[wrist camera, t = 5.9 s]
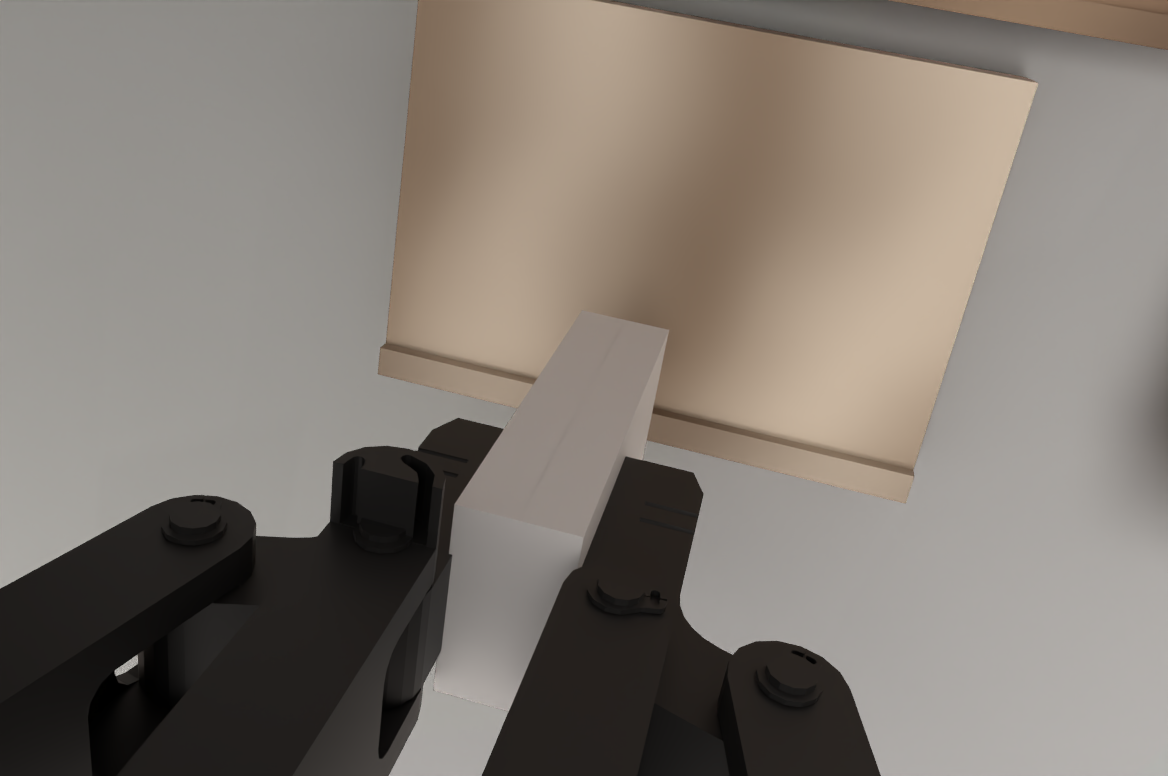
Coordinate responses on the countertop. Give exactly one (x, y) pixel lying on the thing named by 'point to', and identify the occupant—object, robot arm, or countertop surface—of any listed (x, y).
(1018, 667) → the countertop surface
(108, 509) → the countertop surface
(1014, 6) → the laid board
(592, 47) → the plank
